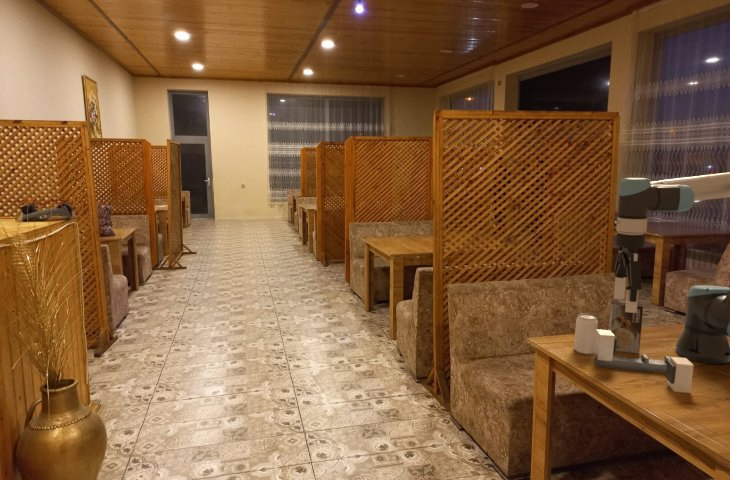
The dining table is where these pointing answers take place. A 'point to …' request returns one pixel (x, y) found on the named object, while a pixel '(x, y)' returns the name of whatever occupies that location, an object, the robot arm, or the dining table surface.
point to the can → (585, 333)
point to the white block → (679, 374)
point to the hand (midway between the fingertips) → (624, 305)
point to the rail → (605, 358)
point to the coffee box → (626, 326)
